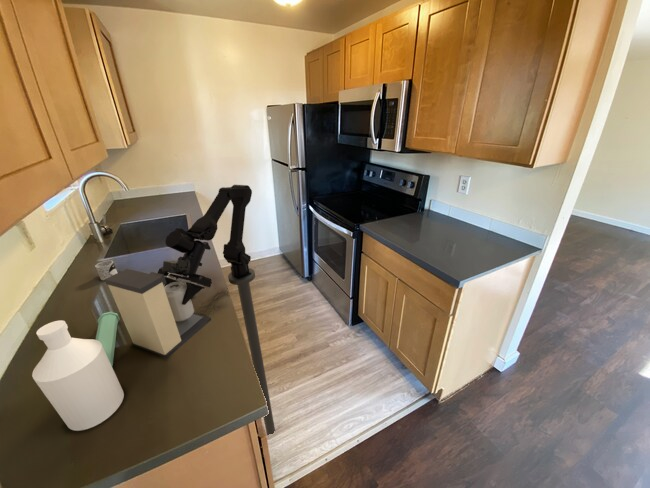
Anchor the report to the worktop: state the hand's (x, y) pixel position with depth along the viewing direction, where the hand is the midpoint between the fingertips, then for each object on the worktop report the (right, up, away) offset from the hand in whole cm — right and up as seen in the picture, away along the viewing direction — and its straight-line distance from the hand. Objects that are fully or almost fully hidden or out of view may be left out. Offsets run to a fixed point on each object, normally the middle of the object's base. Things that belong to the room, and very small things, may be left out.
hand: (174, 302), depth 90 cm
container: (-18, -14, -4) cm, 23 cm away
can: (+1, -6, +4) cm, 7 cm away
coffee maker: (-1, -10, +1) cm, 10 cm away
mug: (-51, +5, +38) cm, 64 cm away
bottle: (-7, -21, -22) cm, 31 cm away
